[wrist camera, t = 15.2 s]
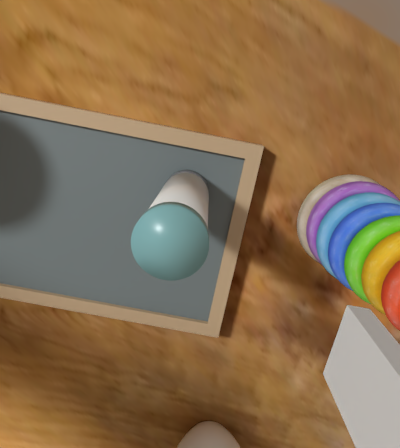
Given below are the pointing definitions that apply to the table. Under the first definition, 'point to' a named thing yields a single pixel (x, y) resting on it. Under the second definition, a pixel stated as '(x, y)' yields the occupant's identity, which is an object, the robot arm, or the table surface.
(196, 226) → the teal and white cylinder
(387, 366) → the robot arm
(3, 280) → the board
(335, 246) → the stacking toy
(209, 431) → the cup
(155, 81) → the table surface
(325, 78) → the table surface
